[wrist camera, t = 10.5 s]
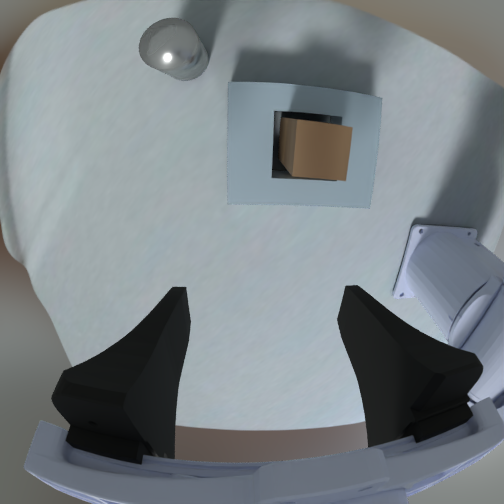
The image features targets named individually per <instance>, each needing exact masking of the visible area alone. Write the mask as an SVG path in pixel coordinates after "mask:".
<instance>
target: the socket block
mask: <svg viewBox="0 0 504 504" xmlns="http://www.w3.org/2000/svg"><path fill="white" fill-rule="evenodd" d="M274 111H286V112H300V113H311V114H321V115H330V116H331V123H332V124H338V125H343V126H348V127H353V130H352V139H351V148H350V156H349V163H348V170H347V177H346V181H339V180H330V179H319V178H308V177H295V176H292V175H291V174H290V173H289V171H272V155H273V128H274ZM381 111H382V98H381V97H376V96H372V95H367V94H361V93H356V92H350V91H344V90H338V89H331V88H324V87H316V86H307V85H297V84H284V83H267V82H228V139H227V193H228V204H250V205H302V206H329V207H350V208H368V209H370V205H371V198H372V192H373V185H374V178H375V171H376V163H377V155H378V146H379V136H380V124H381Z"/></svg>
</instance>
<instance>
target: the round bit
mask: <svg viewBox="0 0 504 504" xmlns="http://www.w3.org/2000/svg"><path fill="white" fill-rule="evenodd" d="M139 53H140V56H141V58H142V60H143V61H144V62H145V63H146V64H147V65H149V66H150V67H153V68H155V69H157V70H159V71H161V72H163V73H165V74H167V75H169V76H171V77H173V78H175V79H178V80H182V81H188V80H192V79H195V78H197V77H199V76H200V75H201V74H202V73H203V72H204V71H205V70H206V68H207V65H208V61H209V58H208V54H207V52H206V50H205V48H204V46H203V44H202V42H201V40H200V39H199V37H198V35H197V33H196V31H195V29H194V28H193V26H192V25H191V24H190V23H188V22H187V21H185V20H183V19H179V18H167V19H163V20H160V21H158V22H156V23H154V24H152V25H151V26H150V27H149V28H148V29H147V30H146V31H145V32H144V34H143V35H142V37H141V40H140V43H139Z"/></svg>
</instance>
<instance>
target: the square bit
mask: <svg viewBox="0 0 504 504" xmlns="http://www.w3.org/2000/svg"><path fill="white" fill-rule="evenodd" d="M352 130H353V127H348V126H343V125H338V124H332V123H326V122H319V121H312V120H303V119H294V118H283V117H281V121H280V135H279V148H278V159H279V160H280V161H281V163H282V164H283V165H284V166H285V168H286V169H287V170H288V171H289V173H290V174H291V175H292V176H295V177H308V178H319V179H330V180H339V181H346V177H347V170H348V163H349V156H350V148H351V139H352Z"/></svg>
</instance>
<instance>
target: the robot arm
mask: <svg viewBox="0 0 504 504" xmlns="http://www.w3.org/2000/svg"><path fill="white" fill-rule="evenodd" d="M420 229H421V231H420V232H419V230H420ZM468 232H469V233H468ZM476 237H477V230H476V229H474V228H462V227H448V226H434V225H418V224H416V225H414V226H413V227H412V228H411V232H410V236H409V240H408V244H407V247H406V251H405V255H404V258H403V262H402V265H401V269H400V272H399V275H398V278H397V282H396V285H395V288H394V291H393V294H392V295H393V297H394V298H395V299H400V298H412V297H416V298H417V299H418V300H419V302H420V303H421V304H422V306H423V307H424V308H425V310H426V311H427V312H428V314H429V315H430V317H431V318H432V319H433V321H434V322H435V324H436V325H437V326H438V328H439V329H440V331H441V332H442V334H443V335H444V337H445V338H446V340H447V341H448V344H445V343H443V342H440V341H438V340H436V339H434V338H432V337H430V336H428V335H426V334H424V333H422V332H420V331H419V330H417V329H415V328H414V327H412V326H410V325H409V324H407V323H406V322H404V321H403V320H402V319H400V318H399V317H397V316H396V315H395V314H393V313H392V312H391V311H389V310H388V309H387V308H386V307H384V306H383V305H382V304H381V303H379V302H378V301H377V300H376V299H374V298H373V297H372V296H371V295H370V294H368V293H367V292H366V291H365V290H363V289H362V288H361V287H359V286H358V285H352V286H345V290H344V295H343V299H342V303H341V307H340V311H339V314H338V318H337V321H338V325H339V330H340V334H341V338H342V340H343V343H344V345H345V348H346V351H347V353H348V356H349V358H350V361H351V364H352V366H353V369H354V372H355V374H356V377H357V380H358V384H359V389H360V393H361V397H362V403H363V408H364V413H365V420H366V428H367V438H368V448H365V449H359V450H354V451H349V452H344V453H339V454H333V455H327V456H321V457H314V458H306V459H297V460H288V461H276V462H257V463H220V462H200V461H199V462H198V461H186V460H177V459H175V422H176V407H177V396H178V387H179V381H180V377H181V372H182V368H183V364H184V359H185V355H186V351H187V347H188V342H189V335H190V325H191V320H190V313H189V305H188V298H187V290H186V287H172V288H171V289H170V290H169V291H168V293H167V294H166V295H165V296H164V297H163V298H162V300H161V301H160V302H159V303H158V304H157V305H156V306H155V308H154V309H153V310H152V311H151V312H150V313H149V314H148V315H147V316H146V317H145V318H144V319H143V320H142V321H141V322H140V323H139V324H138V325H137V326H136V327H135V328H134V329H133V330H132V331H131V332H129V333H128V334H127V335H126V336H125V337H123V338H122V339H121V340H119V341H118V342H117V343H115V344H114V345H112V346H111V347H109V348H108V349H106V350H105V351H103V352H101V353H100V354H98V355H96V356H95V357H93V358H91V359H89V360H87V361H85V362H83V363H81V364H78V365H76V366H74V367H71V368H69V369H67V370H64V371H63V373H62V375H61V377H60V379H59V381H58V383H57V385H56V388H55V390H54V392H53V395H52V398H51V399H52V402H53V404H54V406H55V407H56V409H57V410H58V411H59V412H60V413H61V415H62V416H63V417H64V418H65V419H66V420H67V421H68V423H69V424H70V429H69V431H67V430H66V429H64V428H62V427H59V426H57V425H54V424H51V423H48V422H45V421H42V420H41V421H40V422H39V424H38V427H37V429H36V432H35V435H34V438H33V440H32V443H31V446H30V449H29V452H28V455H27V458H26V461H25V464H24V469H25V470H26V471H28V472H29V473H31V474H32V475H34V476H35V477H37V478H38V479H40V480H42V481H43V482H45V483H47V484H48V485H50V486H51V487H53V488H55V489H57V490H59V491H62V492H64V493H66V494H69V495H71V496H74V497H76V498H79V499H81V500H84V501H87V502H90V503H92V504H409V502H408V499H407V497H409V496H411V495H413V494H416V493H418V492H420V491H422V490H424V489H427V488H429V487H431V486H433V485H435V484H437V483H439V482H441V481H443V480H445V479H447V478H449V477H450V476H452V475H454V474H456V473H458V472H460V471H461V470H463V469H465V468H467V467H469V466H470V465H472V464H474V463H475V462H477V461H479V460H480V459H481V458H482V457H484V456H485V455H486V454H488V453H489V452H490V451H492V450H493V449H494V448H495V447H496V446H498V445H499V444H500V443H501V442H502V441H503V440H504V262H503V261H502V260H501V259H499V258H498V257H497V256H496V255H495V254H493V253H492V252H491V251H490V250H488V249H487V248H486V247H485V246H484V245H482V244H481V243H480V242H478V241H477V240H476ZM401 293H402V294H401Z"/></svg>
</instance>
